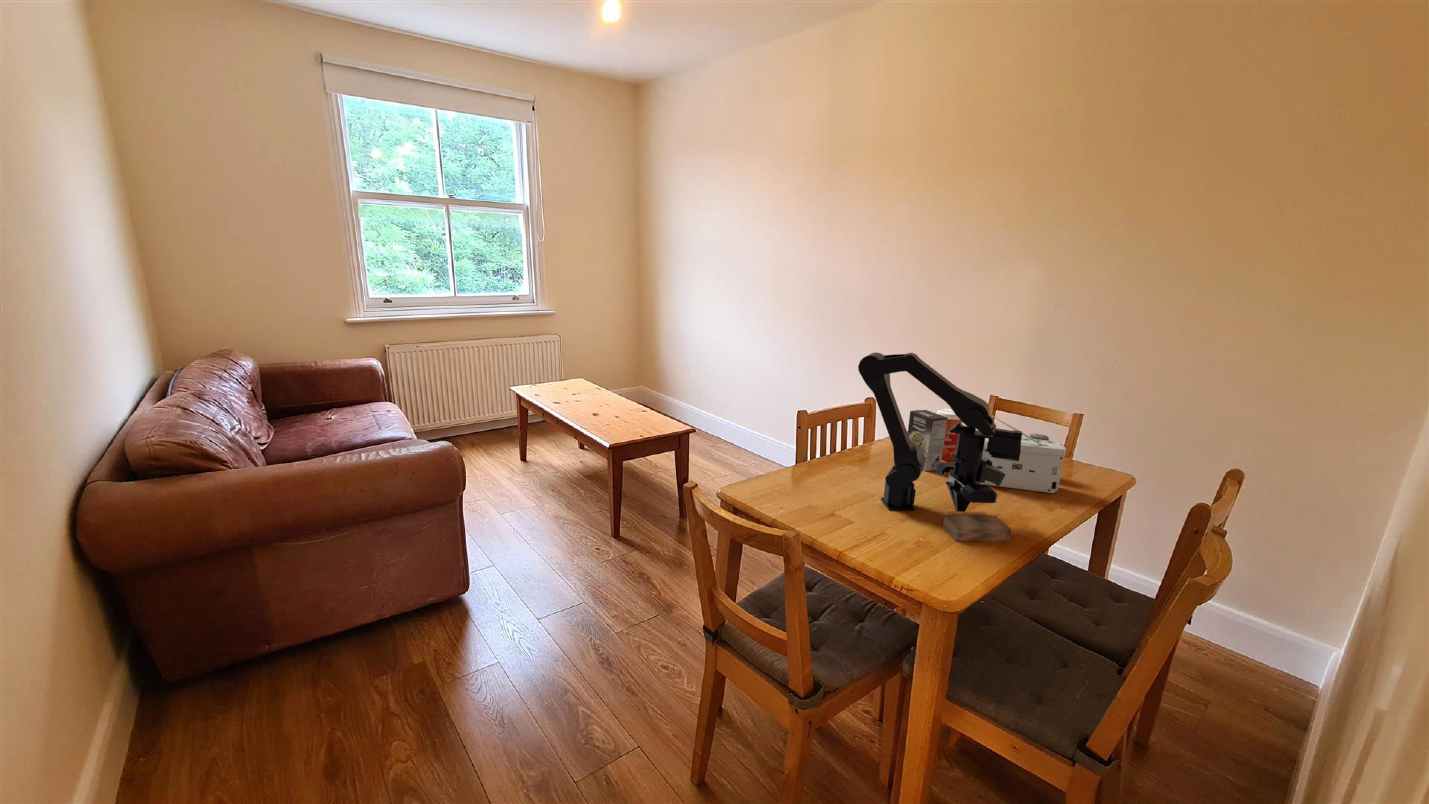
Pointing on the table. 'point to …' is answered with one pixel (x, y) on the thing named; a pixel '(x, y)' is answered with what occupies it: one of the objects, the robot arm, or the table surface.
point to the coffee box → (928, 435)
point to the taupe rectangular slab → (976, 528)
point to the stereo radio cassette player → (1031, 465)
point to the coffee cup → (949, 434)
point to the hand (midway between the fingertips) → (959, 514)
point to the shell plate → (964, 513)
